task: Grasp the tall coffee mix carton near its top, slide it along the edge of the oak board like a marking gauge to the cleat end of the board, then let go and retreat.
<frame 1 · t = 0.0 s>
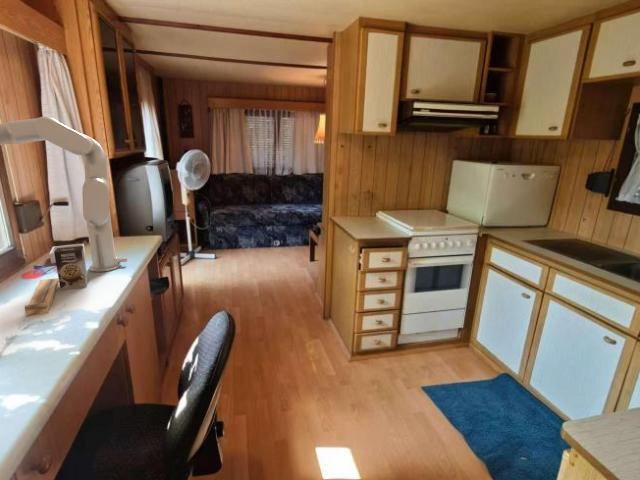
pipe fitting: (69, 258, 177), on the table
coffee box: (75, 286, 146), on the table
oak board: (44, 297, 135), on the table
parts corral: (69, 257, 177), on the table
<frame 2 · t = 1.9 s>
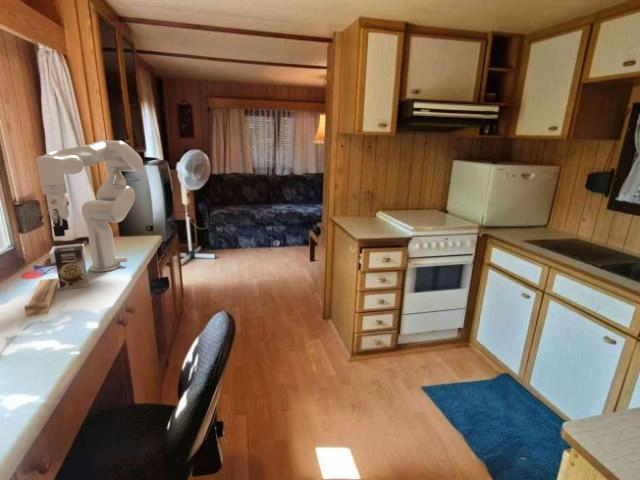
hand: (62, 232, 139), 23 cm above the table, tool pointing down, fingers open, 9 cm apart
pipe fitting: (72, 258, 178), on the table
everything else where it was.
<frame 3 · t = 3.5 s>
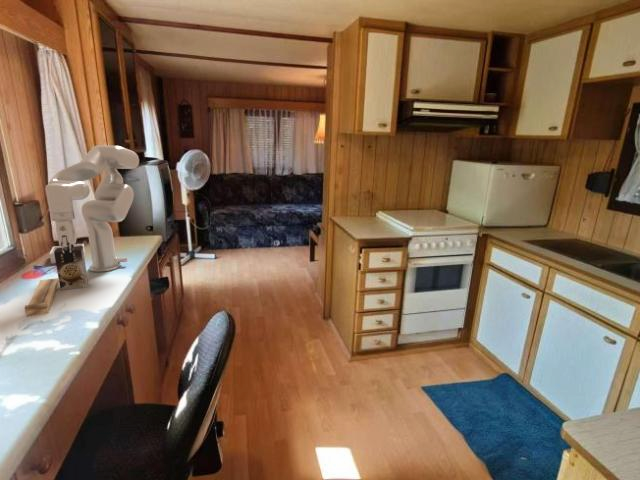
hand: (70, 259, 142), 12 cm above the table, tool pointing down, fingers closed on coffee box, 6 cm apart
coffee box: (74, 286, 146), on the table, touching gripper
everything else where it was.
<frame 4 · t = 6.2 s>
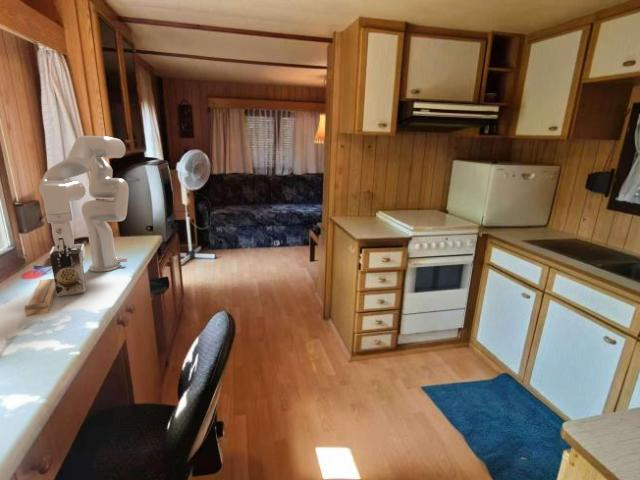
hand: (67, 263, 135), 13 cm above the table, tool pointing down, fingers closed on coffee box, 6 cm apart
coffee box: (72, 291, 138), point 1 cm above the table, touching gripper
everything else where it was.
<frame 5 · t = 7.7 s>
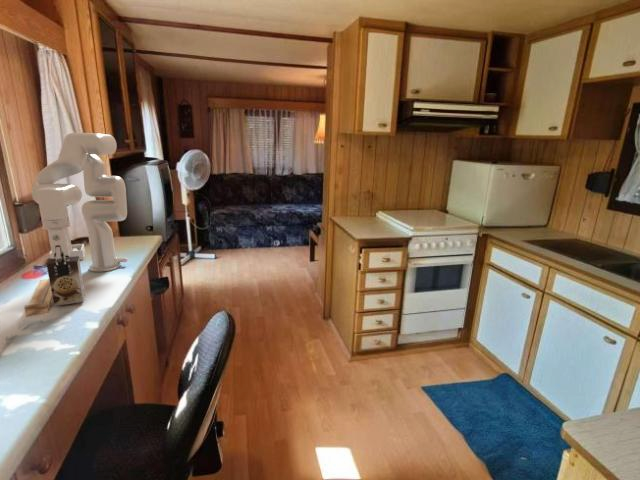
hand: (65, 271, 128), 13 cm above the table, tool pointing down, fingers closed on coffee box, 6 cm apart
coffee box: (70, 301, 131), point 1 cm above the table, touching gripper
everything else where it was.
when the fingers open (12 cm above the table, at t = 8.9 s): coffee box stays where it is, on the table.
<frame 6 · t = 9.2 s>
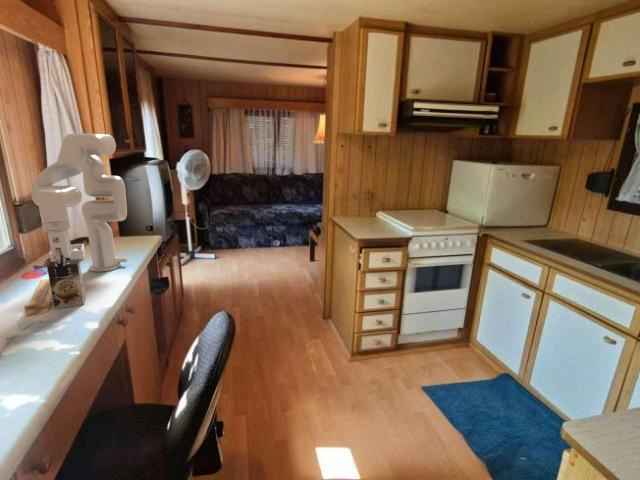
hand: (64, 271, 127), 13 cm above the table, tool pointing down, fingers open, 9 cm apart
coffee box: (70, 304, 131), on the table
everything else where it was.
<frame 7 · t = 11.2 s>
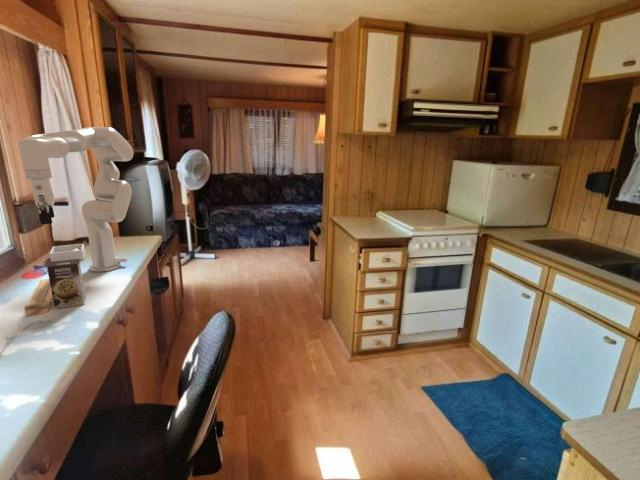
hand: (48, 220, 132), 29 cm above the table, tool pointing down, fingers open, 9 cm apart
pipe fitting: (73, 257, 179), on the table, touching parts corral
everything else where it was.
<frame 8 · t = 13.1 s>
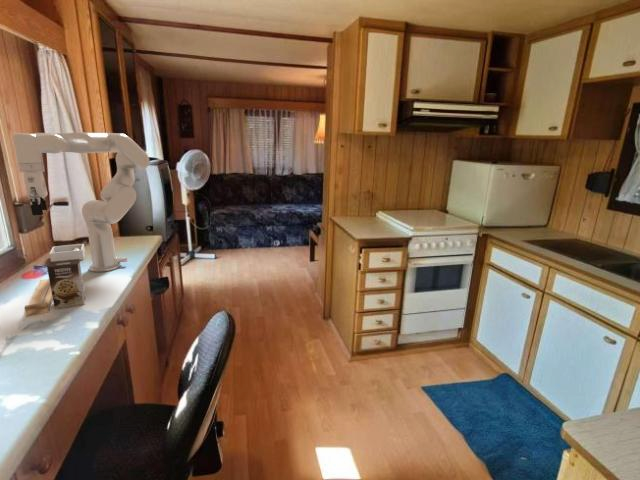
hand: (40, 212, 138), 30 cm above the table, tool pointing down, fingers open, 9 cm apart
pipe fitting: (74, 257, 179), on the table
everything else where it was.
at the end: coffee box inside the target area (0.2 cm from its centre), on the table; coffee box tilted 0°; the gripper is holding nothing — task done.
